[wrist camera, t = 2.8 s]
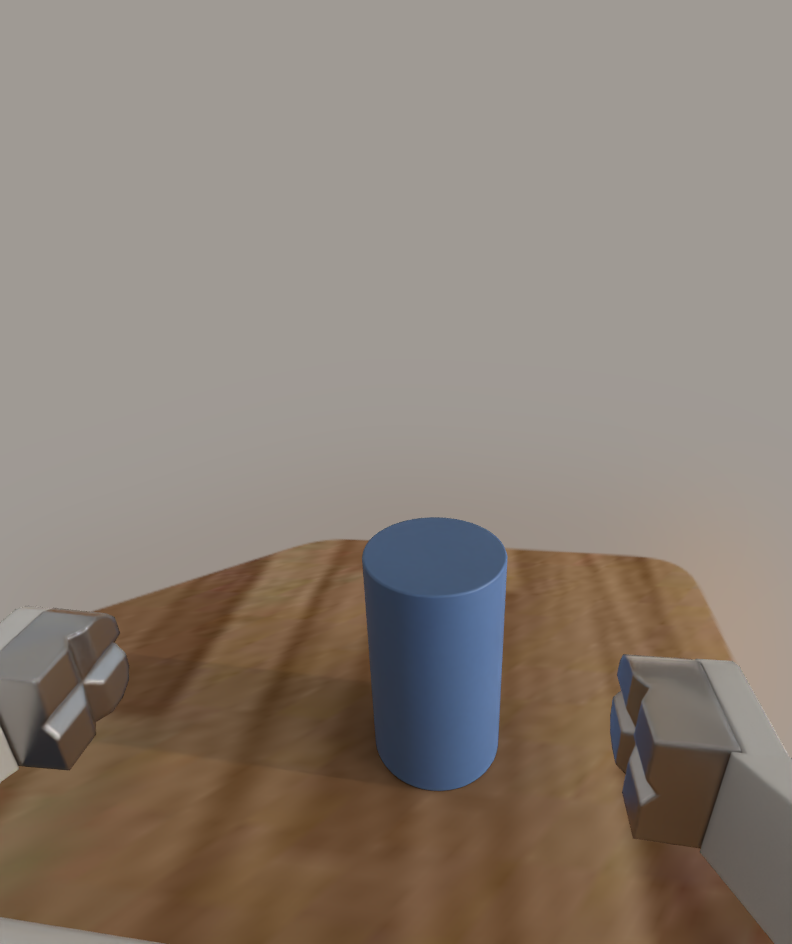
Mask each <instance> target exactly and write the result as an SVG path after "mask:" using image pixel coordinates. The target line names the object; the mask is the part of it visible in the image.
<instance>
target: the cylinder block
mask: <svg viewBox="0 0 792 944" xmlns="http://www.w3.org/2000/svg"><path fill="white" fill-rule="evenodd" d="M362 563H363V577H364V590H365V603H366V617H367V630H368V643H369V657H370V670H371V683H372V697H373V710H374V723H375V737H376V745H377V750H378V753H379V756H380V757H381V759H382V761H383V763H384V764H385V765H386V767H387V768H388V769H389V770H390V771H391V772H392V773H393V774H394V775H395V776H396V777H398V778H399V779H400V780H402V781H404V782H405V783H407V784H410V785H412V786H414V787H418V788H421V789H426V790H433V791H444V790H452V789H457V788H460V787H463V786H465V785H468V784H470V783H472V782H473V781H475V780H476V779H478V778H479V777H480V776H481V775H482V774H484V773H485V771H486V770H487V769H488V768H489V767H490V765H491V763H492V762H493V760H494V758H495V755H496V752H497V748H498V732H499V712H500V692H501V673H502V653H503V633H504V613H505V593H506V573H507V553H506V550H505V548H504V546H503V544H502V543H501V541H500V540H499V539H498V538H497V537H496V536H495V535H494V534H492V533H491V532H490V531H488V530H486V529H484V528H482V527H480V526H478V525H475V524H473V523H470V522H466V521H462V520H457V519H450V518H439V517H438V518H436V517H435V518H434V517H431V518H418V519H412V520H407V521H403V522H399V523H397V524H394V525H391V526H389V527H387V528H385V529H383V530H382V531H380V532H378V533H377V534H376V535H374V536H373V537H372V538H371V539H370V540H369V542H368V543H367V544H366V547H365V549H364V551H363V555H362Z"/></svg>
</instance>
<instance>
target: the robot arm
mask: <svg viewBox="0 0 792 944" xmlns="http://www.w3.org/2000/svg"><path fill="white" fill-rule="evenodd" d="M119 634H120V631H119V628H118V625H117V622H116V620H115V617H113V616H111V615H108V614H106V613H97V612H87V611H77V610H68V609H58V608H52V609H51V608H43V607H33V606H25V607H22V608H18V609H15V610H14V611H13V612H12V613H11V614H10V615H8V616H7V617H6V618H5V619H4V620H3V621H2V622H0V782H1V781H3V780H4V779H6V778H7V777H8V776H10V775H11V774H13V773H14V772H15V771H17V770H18V769H19V767H18V766H25V767H36V768H47V769H59V770H70V769H71V768H72V767H73V765H74V764H75V763H76V761H77V760H78V758H79V757H80V756H81V754H82V753H83V752H84V750H85V749H86V748H87V746H88V745H89V744H90V742H91V741H92V739H93V738H94V737H95V735H96V722H97V721H98V720H100V719H102V718H103V717H105V716H107V715H108V714H110V713H112V712H113V711H114V709H115V708H116V706H117V705H118V704H119V702H120V701H121V699H122V698H123V696H124V693H125V690H126V687H127V684H128V681H129V663H128V659H127V655H126V653H125V652H124V651H123V650H122V649H121V648H120V647H119V646H118V645H117V644H116V643H115V641H116V639H117V638H118V636H119ZM617 676H618V680H619V684H620V687H621V691H620V692H619V693H618V694H616V695H615V696H614V697H613V701H612V707H611V714H610V734H611V742H612V749H613V754H614V759H615V763H616V765H617V766H618V767H619V768H620V769H621V770H622V771H623V772H624V773H625V774H626V776H625V781H624V786H623V791H622V794H623V798H624V802H625V807H626V811H627V815H628V819H629V824H630V828H631V832H632V836H633V839H640V840H647V841H653V842H660V843H667V844H673V845H680V846H687V847H694V848H700V853H701V854H702V855H703V856H704V858H705V859H706V860H707V861H708V863H709V864H710V865H711V866H712V867H713V869H714V870H715V871H716V872H717V874H718V875H719V876H720V877H721V879H722V880H723V881H724V882H725V883H726V885H727V886H728V887H729V888H730V890H731V891H732V892H733V893H734V895H735V896H736V897H737V898H738V899H739V901H740V902H741V903H742V904H743V906H744V907H745V908H746V909H747V911H748V912H749V913H750V914H751V915H752V917H753V918H754V919H755V920H756V922H757V923H758V924H759V925H760V926H761V928H762V929H763V930H764V931H765V933H766V934H767V935H768V936H769V938H770V939H771V940H772V941H773V942H774V944H792V758H790V757H789V755H788V753H787V752H786V750H785V748H784V746H783V744H782V743H781V741H780V739H779V737H778V735H777V733H776V732H775V730H774V728H773V726H772V724H771V723H770V721H769V719H768V717H767V715H766V714H765V712H764V710H763V708H762V706H761V704H760V703H759V701H758V699H757V697H756V695H755V694H754V692H753V690H752V688H751V686H750V684H749V683H748V681H747V679H746V677H745V675H744V674H743V672H742V670H741V668H740V666H738V665H737V664H736V663H735V662H733V661H723V660H707V659H695V660H693V659H682V658H669V657H655V656H641V655H627V654H623V656H622V658H621V660H620V663H619V668H618V673H617ZM0 944H165V943H158V942H152V941H146V940H140V939H134V938H127V937H121V936H115V935H109V934H103V933H96V932H90V931H84V930H78V929H72V928H65V927H59V926H53V925H47V924H41V923H34V922H28V921H22V920H16V919H10V918H3V917H0Z"/></svg>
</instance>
